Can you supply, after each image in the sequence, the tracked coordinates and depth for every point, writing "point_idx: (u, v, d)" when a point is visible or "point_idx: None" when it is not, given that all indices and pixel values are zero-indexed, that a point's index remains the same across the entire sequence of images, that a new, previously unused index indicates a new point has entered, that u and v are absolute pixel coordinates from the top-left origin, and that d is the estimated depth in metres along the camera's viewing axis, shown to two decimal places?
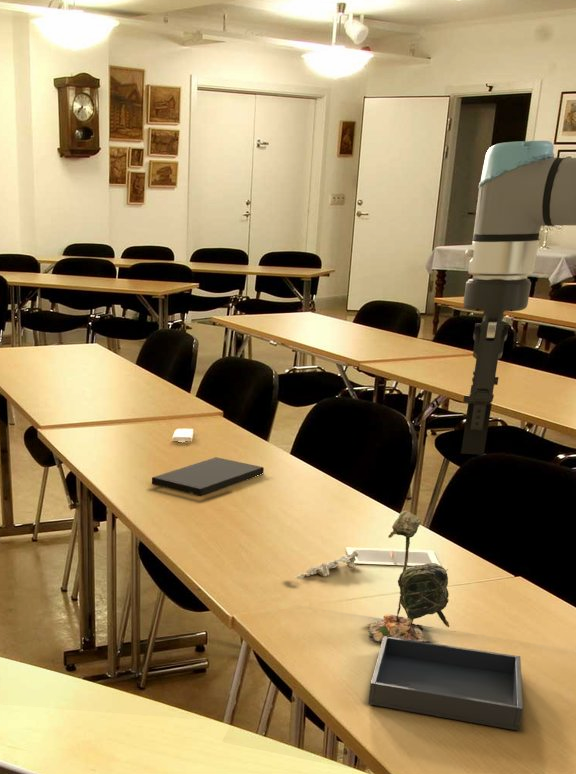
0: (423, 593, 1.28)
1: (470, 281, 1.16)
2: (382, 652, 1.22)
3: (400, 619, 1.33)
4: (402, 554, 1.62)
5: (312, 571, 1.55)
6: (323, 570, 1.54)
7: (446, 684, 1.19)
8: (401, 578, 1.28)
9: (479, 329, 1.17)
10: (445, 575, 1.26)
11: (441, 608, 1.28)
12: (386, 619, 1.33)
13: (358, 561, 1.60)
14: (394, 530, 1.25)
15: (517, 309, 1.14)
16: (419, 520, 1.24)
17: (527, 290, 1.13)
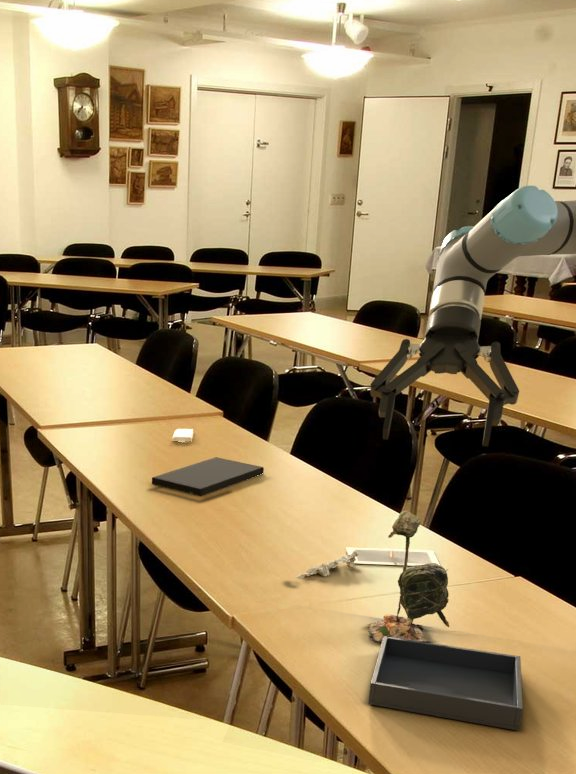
0: (423, 593, 1.28)
1: None
2: (382, 652, 1.22)
3: (400, 619, 1.33)
4: (402, 554, 1.62)
5: (312, 571, 1.55)
6: (323, 570, 1.54)
7: (446, 684, 1.19)
8: (401, 578, 1.28)
9: None
10: (445, 575, 1.26)
11: (441, 608, 1.28)
12: (386, 619, 1.33)
13: (358, 561, 1.60)
14: (394, 530, 1.25)
15: (434, 327, 1.36)
16: (419, 520, 1.24)
17: (443, 312, 1.36)
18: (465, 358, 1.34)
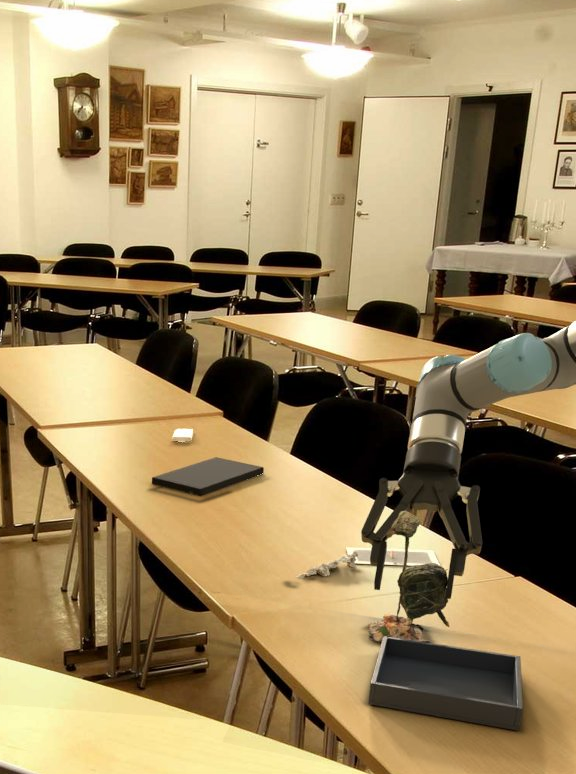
0: (423, 593, 1.28)
1: None
2: (382, 652, 1.22)
3: (400, 619, 1.33)
4: (402, 554, 1.62)
5: (312, 571, 1.55)
6: (323, 570, 1.54)
7: (446, 684, 1.19)
8: (401, 578, 1.28)
9: None
10: (445, 575, 1.26)
11: (441, 608, 1.28)
12: (386, 619, 1.33)
13: (358, 561, 1.60)
14: (393, 530, 1.25)
15: (413, 463, 1.32)
16: (418, 520, 1.24)
17: (421, 448, 1.32)
18: (440, 498, 1.30)
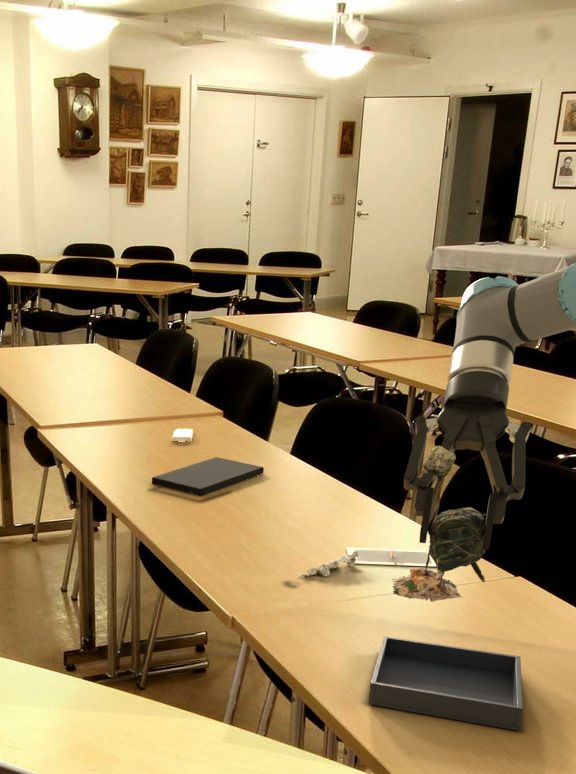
0: (456, 541, 1.12)
1: None
2: (382, 652, 1.22)
3: (429, 573, 1.18)
4: (402, 554, 1.62)
5: (312, 571, 1.55)
6: (323, 570, 1.54)
7: (446, 684, 1.19)
8: (431, 524, 1.13)
9: None
10: (482, 521, 1.11)
11: (476, 559, 1.13)
12: (413, 572, 1.18)
13: (358, 561, 1.60)
14: (425, 468, 1.10)
15: (455, 396, 1.16)
16: (454, 457, 1.09)
17: (464, 378, 1.16)
18: (484, 435, 1.14)
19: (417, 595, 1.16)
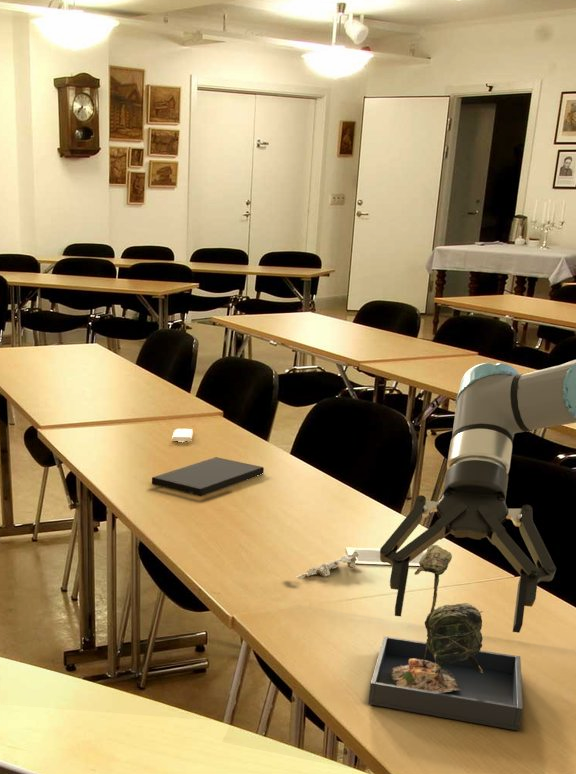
0: (454, 637, 1.13)
1: None
2: (382, 652, 1.22)
3: (427, 664, 1.19)
4: None
5: (313, 571, 1.55)
6: (324, 570, 1.54)
7: None
8: (428, 620, 1.14)
9: None
10: (479, 617, 1.11)
11: (474, 654, 1.14)
12: (411, 664, 1.19)
13: (358, 561, 1.60)
14: (421, 566, 1.11)
15: (455, 484, 1.17)
16: (450, 555, 1.10)
17: (464, 467, 1.17)
18: (491, 524, 1.14)
19: (416, 688, 1.17)
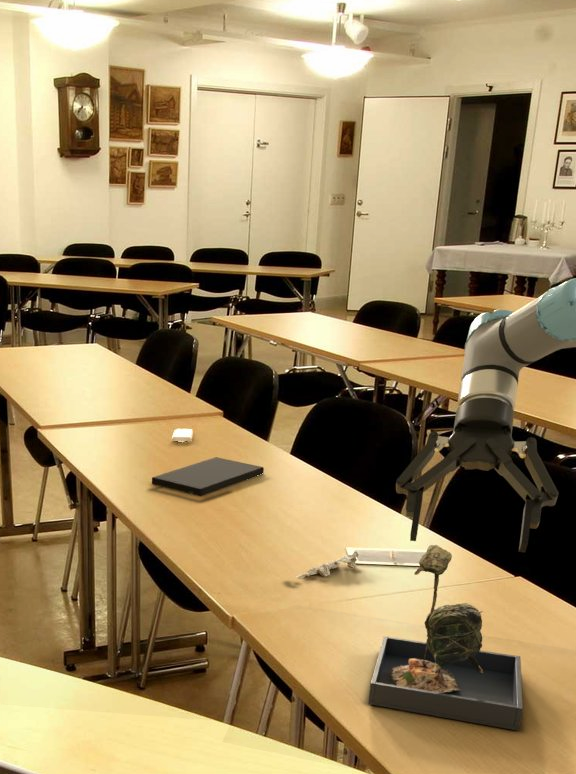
0: (454, 637, 1.13)
1: None
2: (382, 652, 1.22)
3: (427, 664, 1.19)
4: (402, 554, 1.62)
5: (313, 571, 1.55)
6: (324, 570, 1.54)
7: None
8: (428, 620, 1.14)
9: None
10: (479, 617, 1.11)
11: (474, 654, 1.14)
12: (411, 664, 1.19)
13: (358, 561, 1.60)
14: (421, 566, 1.11)
15: (465, 420, 1.27)
16: (450, 555, 1.10)
17: (473, 404, 1.27)
18: (498, 455, 1.24)
19: (416, 688, 1.17)
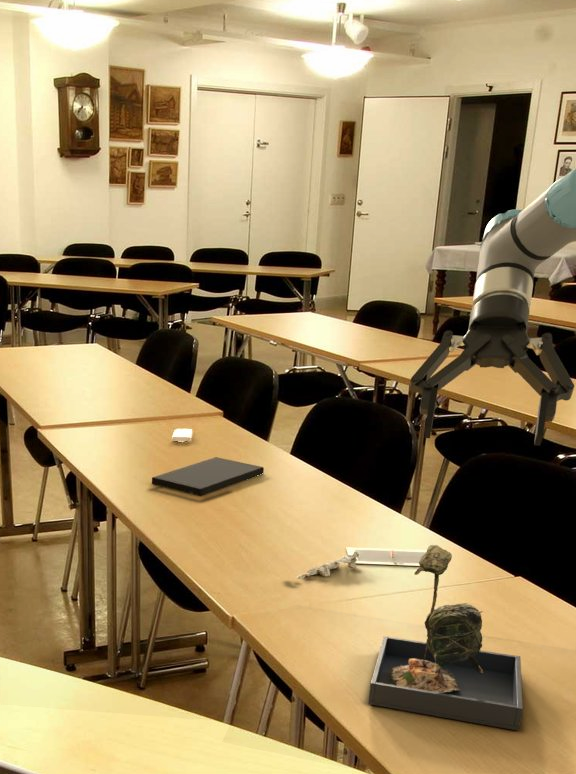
0: (454, 637, 1.13)
1: None
2: (382, 652, 1.22)
3: (427, 664, 1.19)
4: (402, 554, 1.62)
5: (313, 571, 1.55)
6: (324, 570, 1.54)
7: None
8: (428, 620, 1.14)
9: None
10: (479, 617, 1.11)
11: (474, 654, 1.14)
12: (411, 664, 1.19)
13: (358, 561, 1.60)
14: (421, 566, 1.11)
15: (480, 317, 1.26)
16: (450, 555, 1.10)
17: (489, 301, 1.26)
18: (514, 350, 1.24)
19: (416, 688, 1.17)
